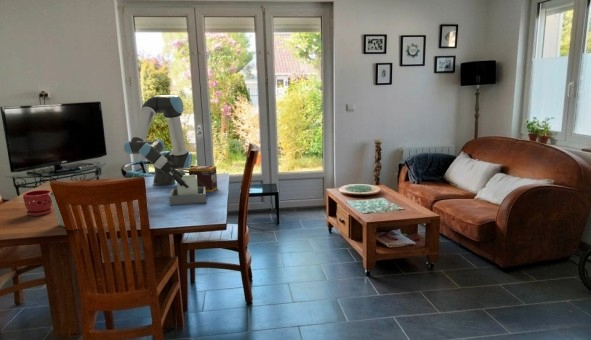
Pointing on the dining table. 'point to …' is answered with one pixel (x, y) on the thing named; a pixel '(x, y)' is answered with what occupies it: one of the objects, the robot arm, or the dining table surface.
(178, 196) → the large crate
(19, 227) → the dining table surface
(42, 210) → the plant pot
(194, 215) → the dining table surface
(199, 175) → the supplement box
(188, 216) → the dining table surface
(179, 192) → the small crate
